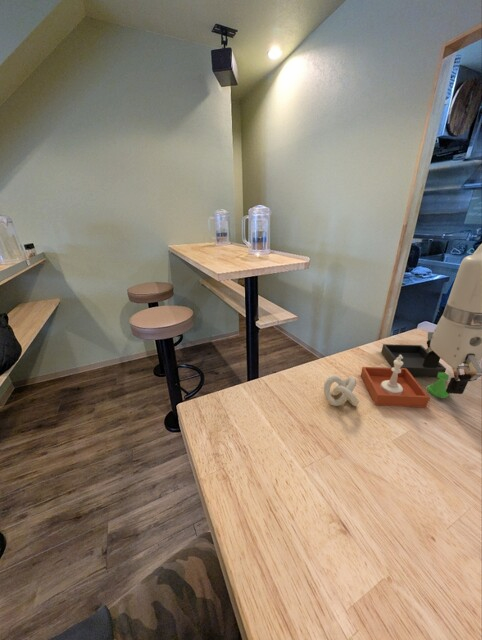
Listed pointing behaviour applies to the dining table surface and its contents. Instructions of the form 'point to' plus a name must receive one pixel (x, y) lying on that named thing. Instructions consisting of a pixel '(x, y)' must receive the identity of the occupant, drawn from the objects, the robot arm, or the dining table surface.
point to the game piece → (439, 386)
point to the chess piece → (393, 379)
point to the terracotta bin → (411, 388)
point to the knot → (340, 390)
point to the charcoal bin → (411, 359)
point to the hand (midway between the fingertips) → (440, 379)
